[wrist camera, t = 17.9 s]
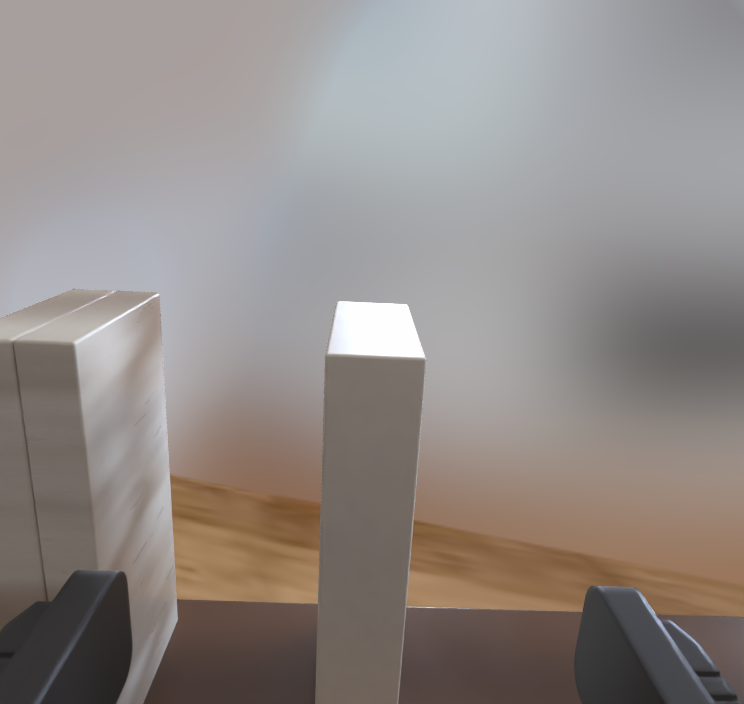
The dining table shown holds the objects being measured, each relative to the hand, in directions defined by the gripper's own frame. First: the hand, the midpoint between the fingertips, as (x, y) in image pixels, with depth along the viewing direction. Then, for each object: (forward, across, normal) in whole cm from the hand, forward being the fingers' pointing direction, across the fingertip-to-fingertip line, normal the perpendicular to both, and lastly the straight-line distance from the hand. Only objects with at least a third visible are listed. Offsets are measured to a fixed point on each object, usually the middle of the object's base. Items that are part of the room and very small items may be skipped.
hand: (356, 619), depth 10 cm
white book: (+5, 0, +7) cm, 9 cm away
